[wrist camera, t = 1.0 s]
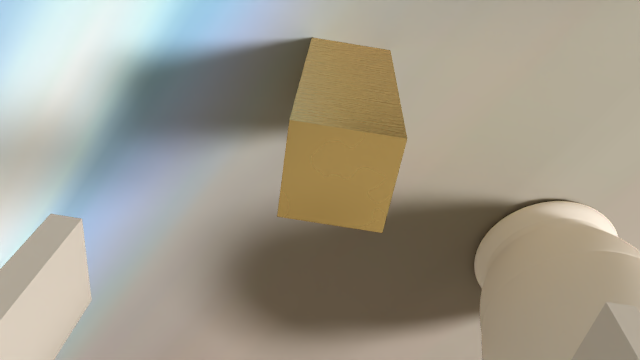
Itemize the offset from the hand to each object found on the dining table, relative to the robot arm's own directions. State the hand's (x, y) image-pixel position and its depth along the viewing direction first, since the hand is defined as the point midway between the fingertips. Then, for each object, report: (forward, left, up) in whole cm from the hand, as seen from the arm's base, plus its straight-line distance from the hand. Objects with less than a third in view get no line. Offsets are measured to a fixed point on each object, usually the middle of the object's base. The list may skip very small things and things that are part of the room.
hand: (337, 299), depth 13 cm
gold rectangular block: (0, 0, -16) cm, 16 cm away
